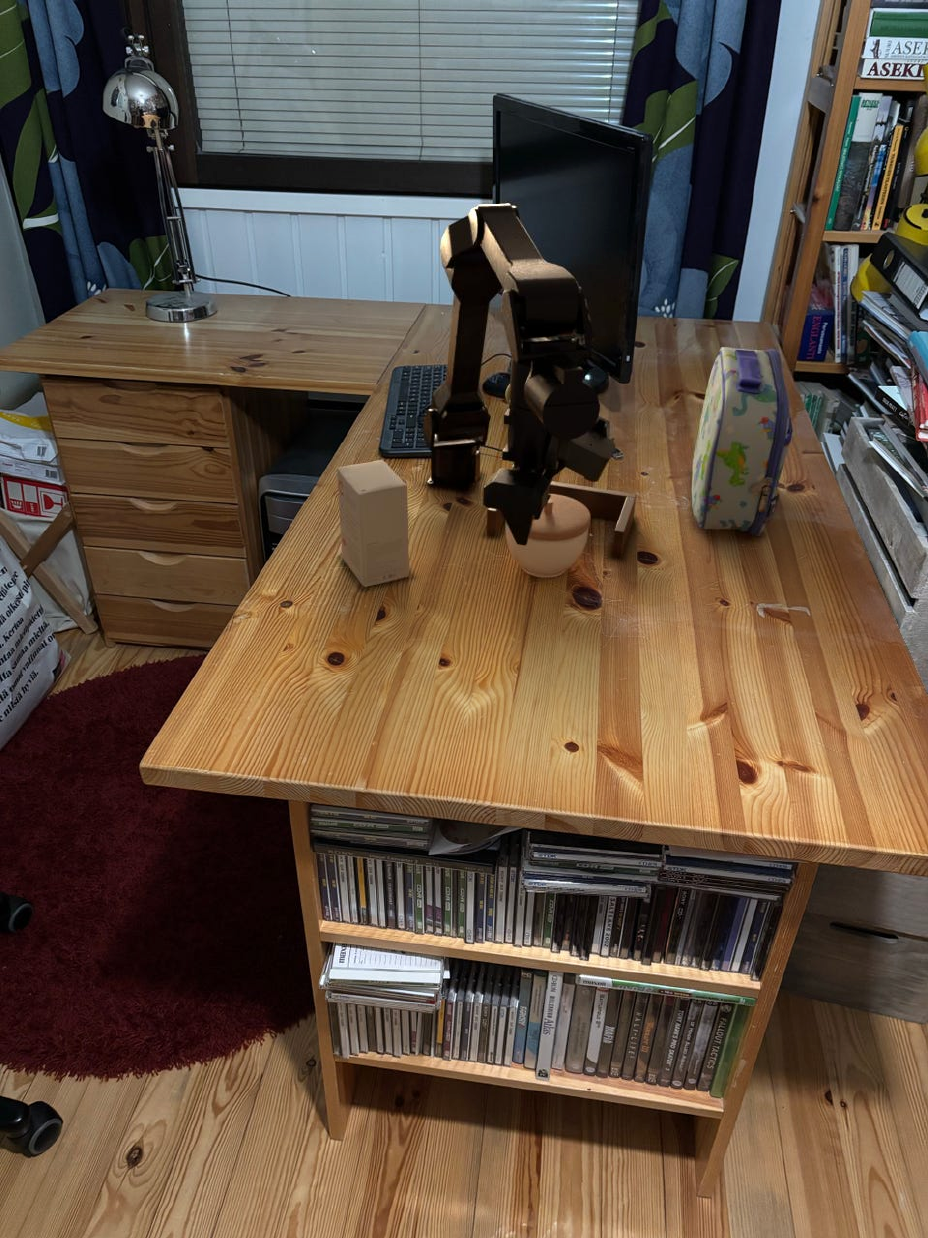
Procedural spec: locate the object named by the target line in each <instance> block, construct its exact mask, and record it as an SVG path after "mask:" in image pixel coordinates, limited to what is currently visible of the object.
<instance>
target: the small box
mask: <svg viewBox="0 0 928 1238" xmlns="http://www.w3.org/2000/svg"><path fill="white" fill-rule="evenodd" d="M336 479H337V493H338V494H337V495H338V496H337V497H338V508H339V510H338V511H339V525H340V527H339V528H340V542H341V543H340V544H341V558H342V560H343V561H344V562H345V564H346V565H347V567H348V568H349V569H350V570H351V572H352V573H353V575H354V576H355V578H356V579H357V580H358V582H359V583H360V584H361V585H362V587H363V588H368V587H371V586H376V585H380V584H385V583H389V582H393V581H398V580H400V579H404V578H408V577H410V556H409V555H410V554H409V517H408V516H409V515H408V514H409V511H408V508H409V507H408V484H407V483H405V481H404V480H403V479H402V478H401V477H400V476H399V475H398V474H397V473H396V472H395V471H394V469H392V468H391V467H390V465H388V464H387V462H386V461H384V459H378V460H373V461H368V462H361V463H356V464H349V465H345V466H339V467H337V468H336Z"/></svg>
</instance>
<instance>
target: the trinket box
mask: <svg viewBox="0 0 928 1238" xmlns="http://www.w3.org/2000/svg"><path fill="white" fill-rule="evenodd" d="M549 495H551V497H550V499H549V501H548V503H547V505H546V506H545V507H544V509H543V511H542V513H541V516H540V519H539V520H533V523H532V527H531V531H530V535H529V538H528V542H527V544H526V545H525V546H524V545H518V544H517V543H516V541H515V539H514V537H513V535H512V533H511V531H510V529H509V527H508V525H507V522H506V521H505V524H504V525H505V526H504V527H505V531H504V533H505V541H506V546H507V549H508V551H509V554H510V556H511V557H512V559H513V560H514V562H515V563H516V564H517V565H519V567H520V568H521V570H522V571H523V572H524V573H526V574H528V575H530V576H533V577H535V578H542V579H551V578H556V577H559V576H562V575H563V574H564V573H566V572H567V570H569V569H570V568H571V567H573V566H574V565H575V564H576V563H577V562H578V561H579V559H580V558H581V557H582V554H583V553H584V550H585V548H586V545H587V541H588V537H589V536H588V535H589V529H590V525H591V517H592V516H591V515H590V512H589V510H588V509H587V508H586V507H585V506H584V505H583V504H582V503H580V502H578V501H577V500H574V499H572V498H569V497H566V496H562V495H556V494H549Z"/></svg>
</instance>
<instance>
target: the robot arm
mask: <svg viewBox="0 0 928 1238" xmlns="http://www.w3.org/2000/svg"><path fill="white" fill-rule="evenodd" d="M520 216H521V215H520V211H519V209H518V207H517V206H515V205H511V203H499V204H496V203H495V204H478V205H477V206H476V207H472V208H471V209H470V210H469V213H468V214H467V215H465V216H464V217H461V218H460V219H458V220H456V221H455V222H452V223H451V224H449V225H448V226H447V227H446V229H445V232H444V233H443V235H442V237H441V240H440V247H439V248H440V252H439V253H440V261H441V266H442V268H443V269H444V272H445V276H446V278H447V280H448V283H449V285H450V289H451V290H452V292H453V300H452V310H451V320H450V321H451V322H450V331H449V341H448V351H447V362H446V373H445V379H444V381H443V382H442V383H441V384H440V385H439V386H438V387H437V388H436V390H434V392H432V397H431V404H430V409H427V411H426V414H425V416H424V419H423V422H422V436H423V437H422V438H423V441H424V442H425V444H426V446H427V448H428V450H429V452H430V477H429V479H428V480H427V482H426V484H427V486H429V487H434V488H435V487H437V488H441V489H442V488H443V489H447V490H456V491H461V492H468V491H470V490H471V488H472V487H473V486H474V484H475V483H476V482H477V481H478V480H479V478H480V476H481V451H480V450H478V447H479V446H481V447H484V446H486V444H487V441H488V436H489V429H490V424H491V420H492V415H491V413H489V409H488V406H487V405H486V403H485V400H484V397H483V395H482V393H481V389H480V388H479V387H480V379H481V373H482V366H483V356H484V349H485V341H486V335H487V334H486V333H487V329H488V327H487V326H488V319H489V312H490V305H491V301H492V300H493V299H494V298H495V297H496V296H497V295H498V294H499V293H500V291H501V290H502V289H503V290H504V291H503V292H502V295H501V300H500V315H501V320H502V325H503V329H504V332H505V337H506V340H507V345H508V348H509V352H510V356H511V359H510V360H511V361H510V364H511V365H510V380H509V381H510V383H509V384H510V400H509V404H508V408H507V410H506V411H505V413H504V414H503V425H507V444H506V445H505V446H504V448H503V450H502V452H501V453H502V455H501V460H502V461H506V462H513V464H512V466H511V468H503V467H500V468H498V469H497V470H496V471H494V473H492V474H491V476H490V477H489V479H488V481H487V482H486V484H485V485H484V486H483V488H482V505H483V506H484V507H485V508H487V509H488V508H492V509H498V510H500V511H501V513H502V515H503V517H504V519H505V520H504V521H505V523H506V522H507V525H508V527H509V529H510V531H511V533H512V535H513V537H514V539H515V541H516V543H517V544H518V545H524V546H525V545H526V544H527V542H528V538H529V535H530V531H531V527H532V523H533V520H539V519H540V516H541V513H542V511H543V509H544V507H545V506H546V505H547V503H548V501H549V499H550V497H551V495H549V488H550V485H551V481H553V478H554V477H555V476H556V475H558V474H559V473H560V472H561V471H563V470H564V469H565V468H566V469H568V470H570V471H572V472H574V473H577V474H578V475H581V476H582V477H583V479H585V480H586V481H589V482H591V483H597V482H599V480H600V478H601V476H602V474H603V472H604V471H605V469H606V468H607V465H608V463H609V461H610V460H611V458H612V456H613V453H614V451H615V448H616V443H615V442H614V441H615V437H613V436H611V426H610V425H611V423H610V421H609V420H607V419H606V418H605V417H603V416H602V417H601V416H600V412H601V404H600V399H599V396H598V394H597V392H596V390H595V389H594V388H593V387H592V386H591V385H590V384H589V383H588V382H587V381H586V380H585V379H584V373H585V372H584V369H583V368H582V367H581V366H580V365H579V364H578V359H585V358H586V359H587V358H592V357H593V349H592V343H593V341H594V340H595V334H594V330H593V326H592V325H593V324H592V320H591V316H590V312H589V307H588V302H587V299H586V298H585V293H584V290H583V288H582V287H581V286H580V285H579V282H578V281H577V279H576V278H575V277H574V275H572V274H571V273H570V272H569V271H568V270H567V269H566V268H565V267H563V266H560V265H557V264H554V263H551V262H548V261H546V260H545V259H544V258H543V256H542V255H541V253H540V251H539V250H538V248H537V246H536V244H535V243H534V241H533V240H532V239H531V237H530V235H529V233H528V232H527V230H526V229H525V227H524V225H523V224H522V222H521V217H520ZM573 335H574V338H567V339H566V338H565V339H550V338H555V337H558V338H559V337H569V336H570V337H571V336H573Z"/></svg>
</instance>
